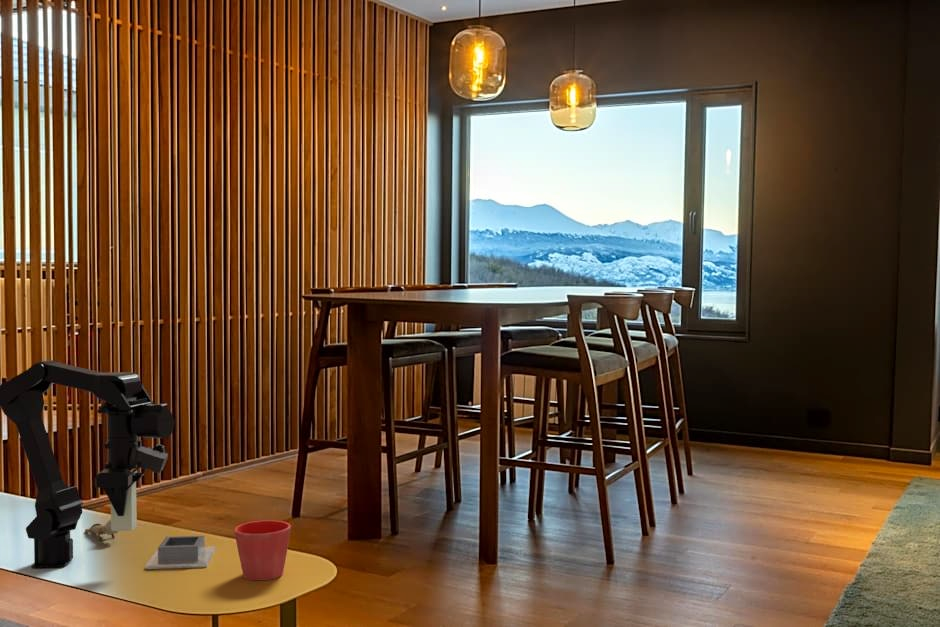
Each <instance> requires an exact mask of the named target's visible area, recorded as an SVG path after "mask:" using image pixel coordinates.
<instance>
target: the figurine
mask: <svg viewBox="0 0 940 627" xmlns="http://www.w3.org/2000/svg"><path fill="white" fill-rule="evenodd" d="M84 532H85V533H86V532H87V533H93V532H94V533H95V534H96V535H97V540H98V542H101V541H102V538H101V536H102V535H105V534H107V535H108V536H111V538H112V539H115V538H116V537H115V534H116V535H117V534H118V533H119V532H120V531H111V519H110V520H108V521H107V522H106V524H104V525H102V524H101V523H94V524H92V525H91V526H90V527H89V528H86V529H85V530H84Z"/></svg>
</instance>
